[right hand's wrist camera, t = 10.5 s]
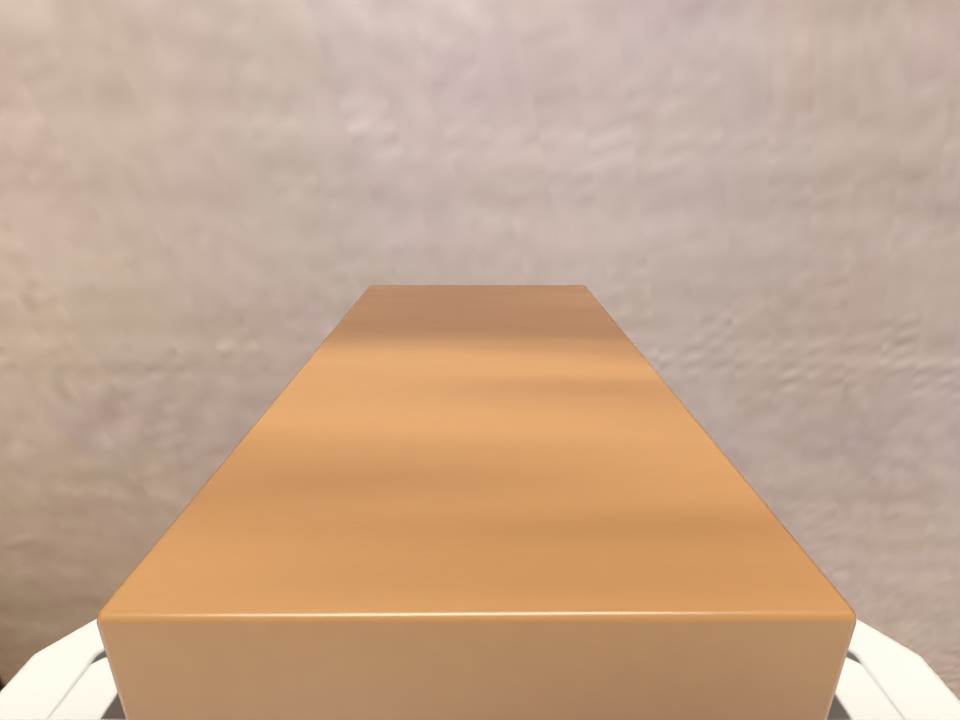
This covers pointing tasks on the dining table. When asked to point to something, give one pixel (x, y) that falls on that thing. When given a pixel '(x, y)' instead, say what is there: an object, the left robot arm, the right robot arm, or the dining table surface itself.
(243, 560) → the box
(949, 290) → the dining table surface
